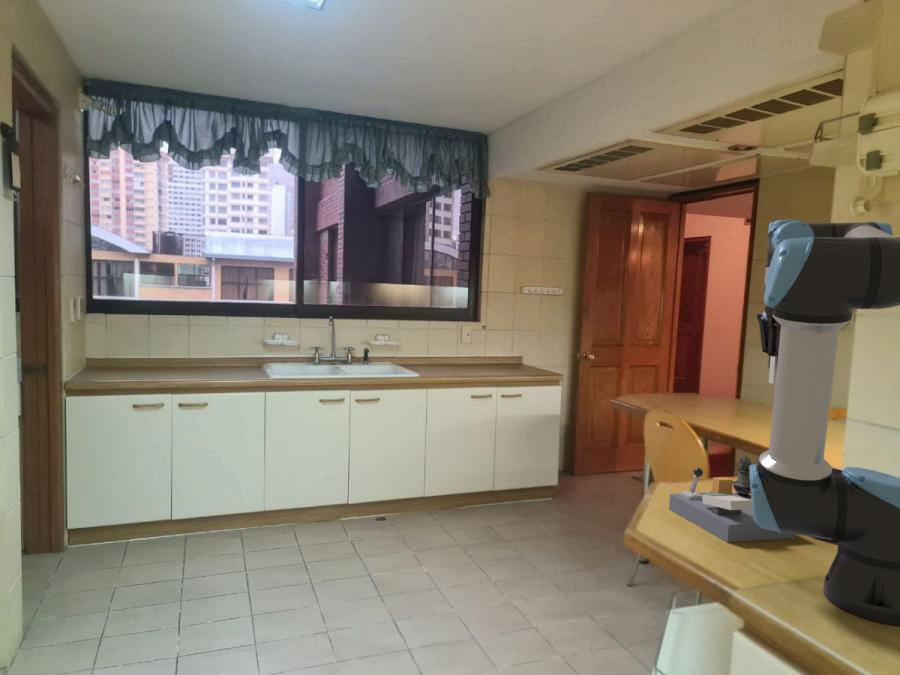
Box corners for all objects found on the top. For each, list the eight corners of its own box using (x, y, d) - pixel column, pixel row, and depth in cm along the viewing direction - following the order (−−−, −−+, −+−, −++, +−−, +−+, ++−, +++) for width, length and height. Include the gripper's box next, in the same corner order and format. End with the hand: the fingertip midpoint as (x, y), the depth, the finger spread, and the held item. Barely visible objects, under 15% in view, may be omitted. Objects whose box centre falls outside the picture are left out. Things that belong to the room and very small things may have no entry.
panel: (795, 538, 137) (796, 514, 137) (727, 542, 133) (729, 518, 133) (728, 506, 159) (730, 485, 158) (668, 508, 155) (669, 487, 154)
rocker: (753, 509, 136) (753, 499, 137) (731, 510, 135) (730, 500, 135) (724, 502, 146) (723, 493, 146) (702, 503, 145) (702, 494, 145)
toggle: (697, 495, 151) (705, 471, 148) (690, 495, 151) (698, 471, 148) (692, 489, 153) (700, 465, 150) (685, 490, 153) (693, 466, 150)
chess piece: (758, 500, 165) (761, 457, 164) (737, 499, 165) (740, 456, 164) (748, 493, 171) (751, 452, 170) (727, 493, 171) (730, 451, 170)
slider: (731, 495, 153) (732, 479, 153) (718, 495, 153) (719, 480, 152) (725, 492, 156) (726, 477, 156) (712, 492, 155) (713, 477, 155)
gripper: (817, 285, 139) (810, 387, 140) (774, 287, 151) (768, 380, 153) (790, 284, 137) (783, 386, 138) (749, 285, 150) (743, 379, 151)
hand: (775, 383), depth 145 cm, fingers closed
